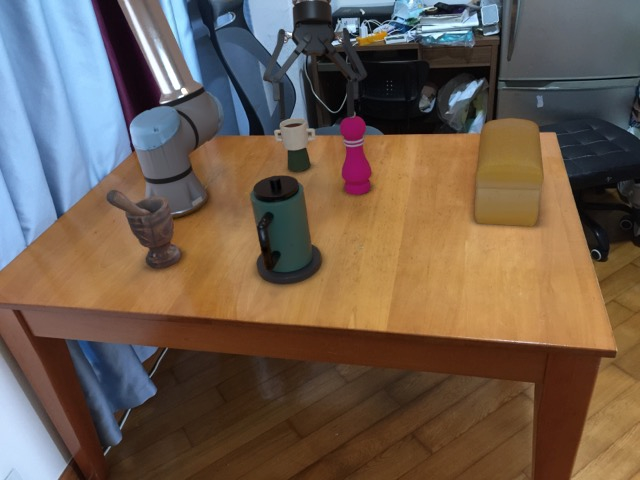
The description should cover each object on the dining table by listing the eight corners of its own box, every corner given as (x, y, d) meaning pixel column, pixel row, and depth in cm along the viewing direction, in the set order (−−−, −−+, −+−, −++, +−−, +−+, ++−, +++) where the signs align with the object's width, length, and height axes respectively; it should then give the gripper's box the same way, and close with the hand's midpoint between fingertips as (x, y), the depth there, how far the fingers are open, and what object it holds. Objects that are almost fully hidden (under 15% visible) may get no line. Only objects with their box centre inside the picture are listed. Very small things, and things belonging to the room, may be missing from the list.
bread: (478, 171, 135) (481, 113, 126) (534, 173, 131) (541, 113, 123) (472, 223, 115) (475, 158, 107) (537, 227, 112) (546, 160, 103)
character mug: (321, 162, 149) (316, 116, 142) (316, 174, 143) (311, 127, 136) (283, 163, 151) (276, 118, 144) (277, 174, 146) (269, 128, 139)
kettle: (280, 230, 118) (267, 155, 108) (324, 233, 115) (315, 156, 106) (246, 284, 103) (227, 203, 94) (296, 289, 100) (282, 205, 91)
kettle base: (271, 244, 117) (269, 238, 117) (328, 248, 114) (328, 242, 113) (247, 281, 107) (246, 275, 106) (310, 287, 103) (309, 281, 102)
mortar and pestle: (169, 280, 110) (140, 193, 99) (130, 280, 112) (97, 194, 101) (189, 248, 120) (165, 165, 109) (152, 248, 121) (125, 167, 111)
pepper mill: (376, 183, 135) (372, 105, 124) (366, 197, 130) (360, 117, 119) (349, 180, 138) (342, 104, 127) (338, 194, 133) (330, 115, 122)
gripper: (247, -3, 99) (254, 116, 101) (380, -1, 103) (384, 113, 105) (245, 10, 106) (252, 121, 108) (369, 11, 111) (373, 118, 113)
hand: (317, 117), depth 107 cm, fingers open, 13 cm apart
